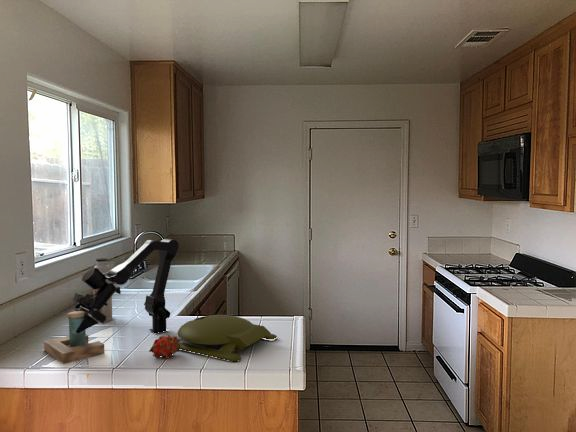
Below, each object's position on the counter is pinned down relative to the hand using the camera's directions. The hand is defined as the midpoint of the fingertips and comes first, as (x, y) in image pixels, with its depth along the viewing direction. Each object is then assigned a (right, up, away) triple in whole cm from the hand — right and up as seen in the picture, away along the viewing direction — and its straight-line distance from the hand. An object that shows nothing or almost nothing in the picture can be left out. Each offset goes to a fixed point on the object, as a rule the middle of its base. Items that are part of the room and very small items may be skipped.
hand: (73, 331), depth 183 cm
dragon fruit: (+35, -9, -4) cm, 36 cm away
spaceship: (+53, -8, +11) cm, 55 cm away
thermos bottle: (-5, -5, +43) cm, 44 cm away
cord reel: (+1, -7, +1) cm, 7 cm away
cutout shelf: (0, -8, +1) cm, 8 cm away
